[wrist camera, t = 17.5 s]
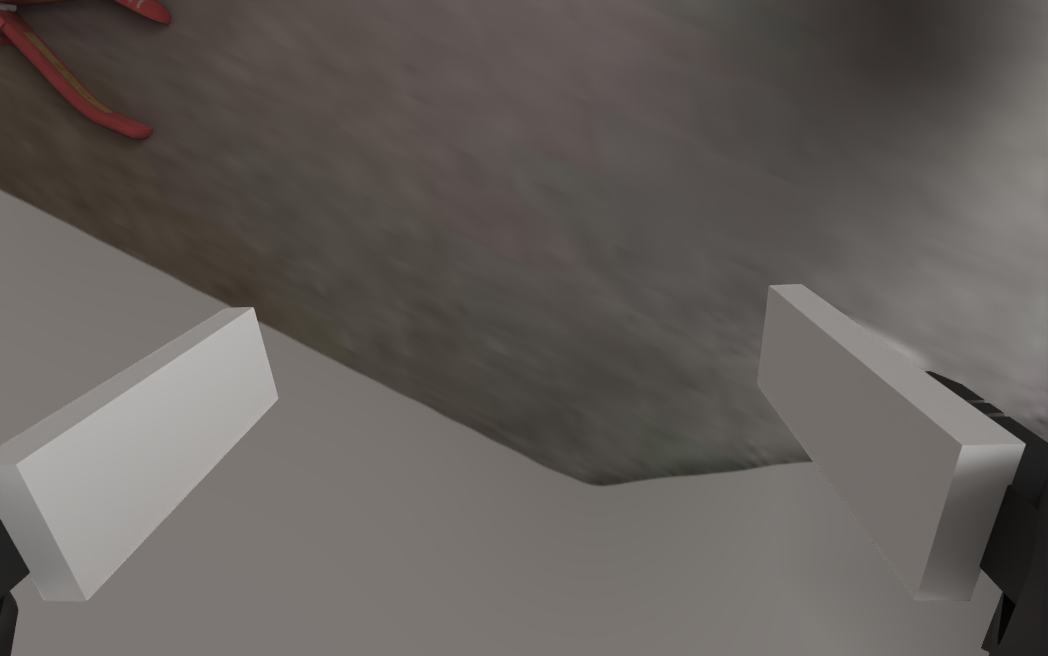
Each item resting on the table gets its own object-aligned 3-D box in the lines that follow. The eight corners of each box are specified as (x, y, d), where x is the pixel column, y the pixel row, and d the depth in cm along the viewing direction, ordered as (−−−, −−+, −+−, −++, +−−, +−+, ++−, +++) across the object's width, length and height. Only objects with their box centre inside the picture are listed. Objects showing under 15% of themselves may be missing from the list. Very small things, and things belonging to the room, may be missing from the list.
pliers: (-81, -121, 40) (-122, -136, 38) (180, 8, 43) (157, 2, 40) (-81, 34, 44) (-117, 31, 42) (156, 143, 47) (135, 146, 44)
